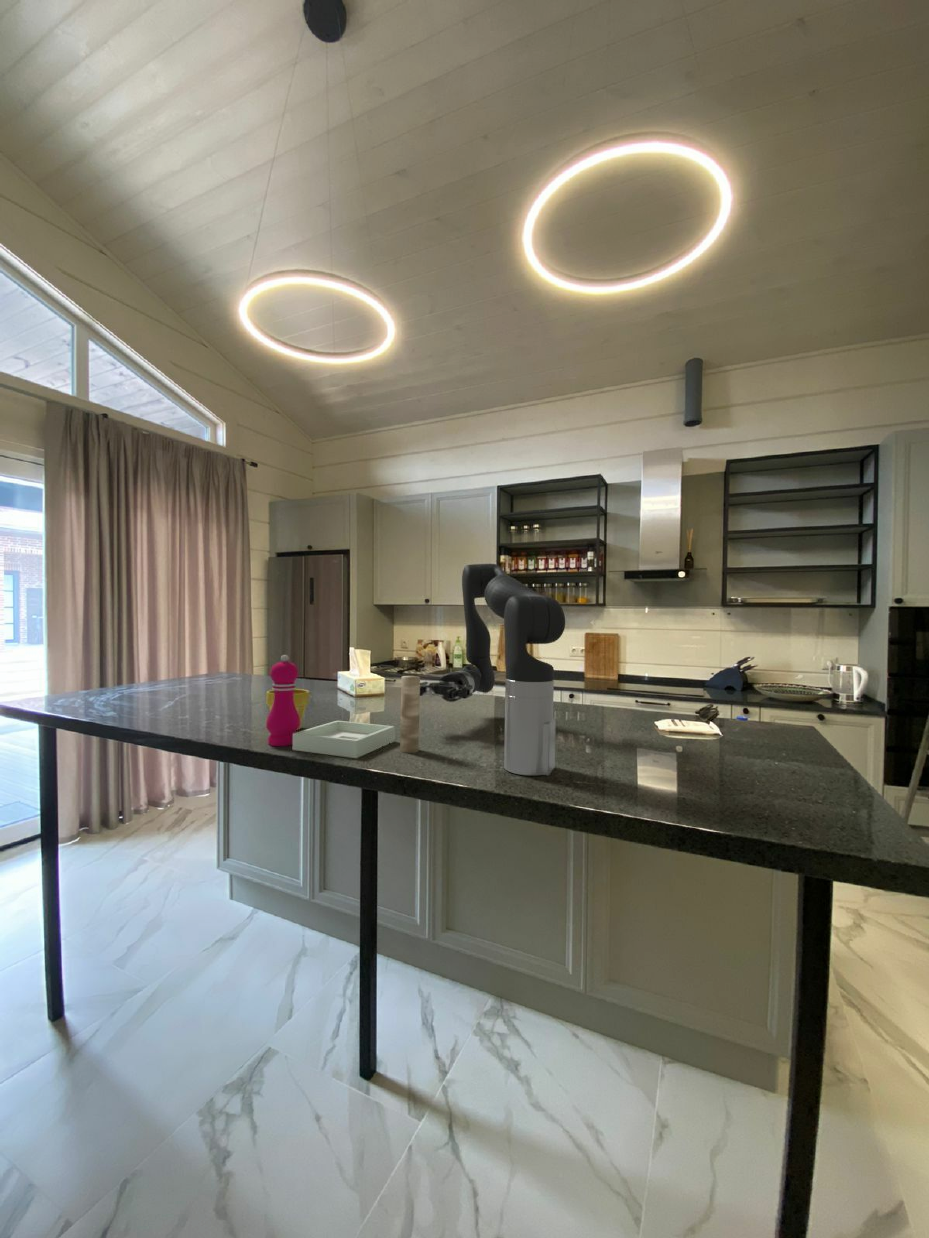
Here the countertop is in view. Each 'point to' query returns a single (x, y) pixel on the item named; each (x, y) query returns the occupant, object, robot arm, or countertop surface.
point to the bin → (344, 738)
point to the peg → (410, 714)
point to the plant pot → (299, 701)
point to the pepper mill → (283, 704)
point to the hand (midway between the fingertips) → (431, 693)
